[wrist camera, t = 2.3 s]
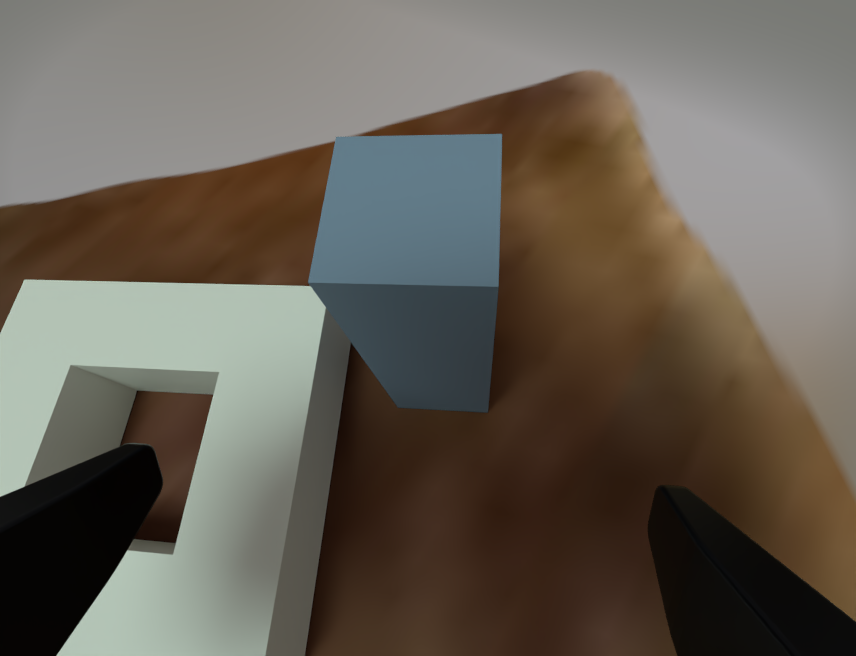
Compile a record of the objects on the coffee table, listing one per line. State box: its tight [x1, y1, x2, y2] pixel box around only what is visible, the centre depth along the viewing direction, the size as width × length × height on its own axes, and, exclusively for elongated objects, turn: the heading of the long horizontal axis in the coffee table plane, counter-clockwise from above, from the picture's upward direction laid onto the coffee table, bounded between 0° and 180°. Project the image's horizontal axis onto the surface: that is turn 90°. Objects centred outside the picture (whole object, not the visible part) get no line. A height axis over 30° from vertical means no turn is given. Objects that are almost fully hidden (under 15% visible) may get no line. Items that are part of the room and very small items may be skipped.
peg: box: [308, 134, 502, 413], centre depth 16 cm, size 4×4×12 cm
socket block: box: [0, 280, 351, 656], centre depth 19 cm, size 14×14×4 cm
